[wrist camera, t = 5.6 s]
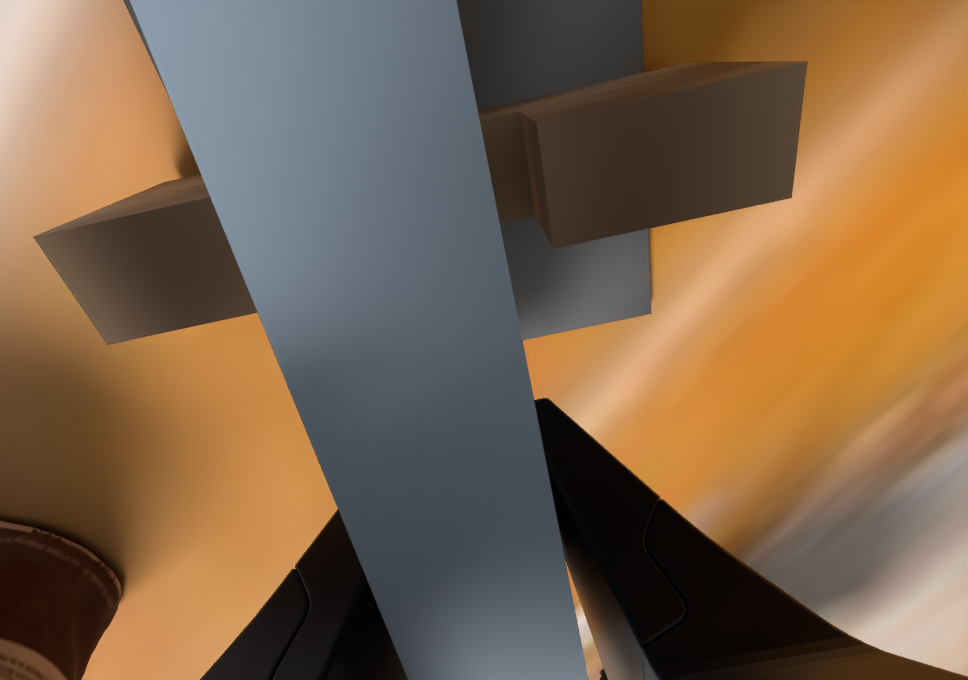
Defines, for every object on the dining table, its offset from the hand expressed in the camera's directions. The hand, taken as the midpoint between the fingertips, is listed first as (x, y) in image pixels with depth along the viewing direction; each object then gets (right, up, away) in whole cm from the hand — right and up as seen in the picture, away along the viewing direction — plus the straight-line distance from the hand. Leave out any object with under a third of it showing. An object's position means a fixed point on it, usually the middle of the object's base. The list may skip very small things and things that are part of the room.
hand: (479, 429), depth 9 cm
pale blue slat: (-1, +4, 0) cm, 4 cm away
